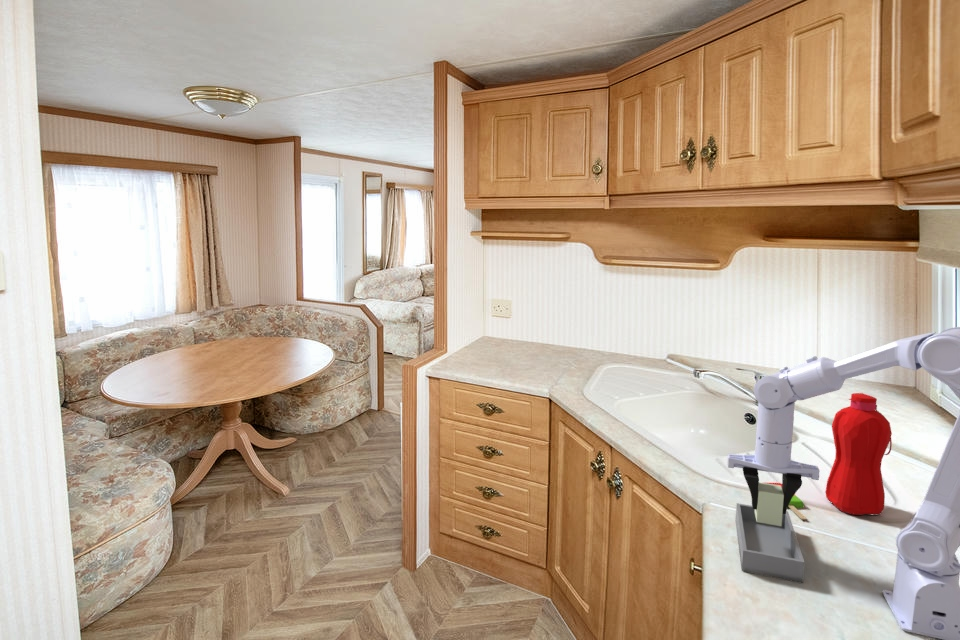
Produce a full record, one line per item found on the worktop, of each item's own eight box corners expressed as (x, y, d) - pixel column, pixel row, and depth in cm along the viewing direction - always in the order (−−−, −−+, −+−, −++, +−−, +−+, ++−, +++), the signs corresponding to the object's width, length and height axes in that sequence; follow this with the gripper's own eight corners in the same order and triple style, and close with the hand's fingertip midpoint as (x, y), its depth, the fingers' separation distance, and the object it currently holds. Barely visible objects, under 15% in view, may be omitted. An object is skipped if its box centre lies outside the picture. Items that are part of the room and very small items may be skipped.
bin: (802, 583, 88) (804, 562, 87) (741, 570, 92) (743, 550, 91) (786, 529, 105) (788, 511, 104) (735, 520, 108) (736, 503, 108)
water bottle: (899, 518, 108) (912, 401, 105) (843, 517, 109) (854, 400, 106) (870, 497, 117) (881, 389, 114) (818, 496, 118) (828, 388, 115)
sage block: (781, 526, 95) (783, 494, 94) (756, 521, 96) (758, 491, 95) (778, 515, 98) (780, 485, 98) (754, 511, 100) (756, 481, 99)
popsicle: (782, 489, 122) (782, 482, 122) (818, 523, 107) (818, 515, 107) (757, 489, 123) (758, 481, 122) (790, 523, 108) (790, 514, 108)
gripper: (816, 436, 96) (810, 506, 98) (728, 426, 101) (724, 492, 103) (824, 450, 89) (817, 524, 91) (730, 439, 95) (725, 509, 97)
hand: (768, 509), depth 97 cm, fingers closed on sage block, 4 cm apart
